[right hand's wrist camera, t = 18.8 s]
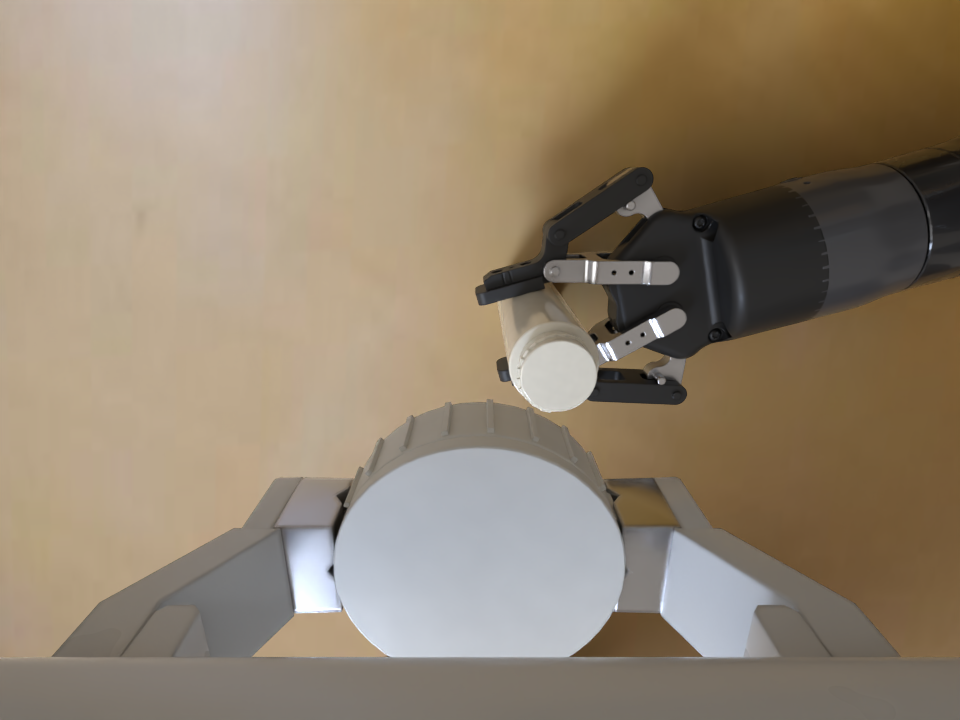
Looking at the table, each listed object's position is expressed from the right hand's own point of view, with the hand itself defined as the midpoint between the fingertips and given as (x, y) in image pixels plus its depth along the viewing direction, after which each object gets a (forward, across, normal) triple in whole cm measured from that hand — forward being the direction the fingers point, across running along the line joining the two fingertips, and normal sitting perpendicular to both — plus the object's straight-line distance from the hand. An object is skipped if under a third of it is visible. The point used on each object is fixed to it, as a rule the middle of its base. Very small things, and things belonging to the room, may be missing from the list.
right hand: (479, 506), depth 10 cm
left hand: (+20, +1, -3) cm, 20 cm away
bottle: (+26, +3, -2) cm, 27 cm away
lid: (-2, 0, 0) cm, 2 cm away
